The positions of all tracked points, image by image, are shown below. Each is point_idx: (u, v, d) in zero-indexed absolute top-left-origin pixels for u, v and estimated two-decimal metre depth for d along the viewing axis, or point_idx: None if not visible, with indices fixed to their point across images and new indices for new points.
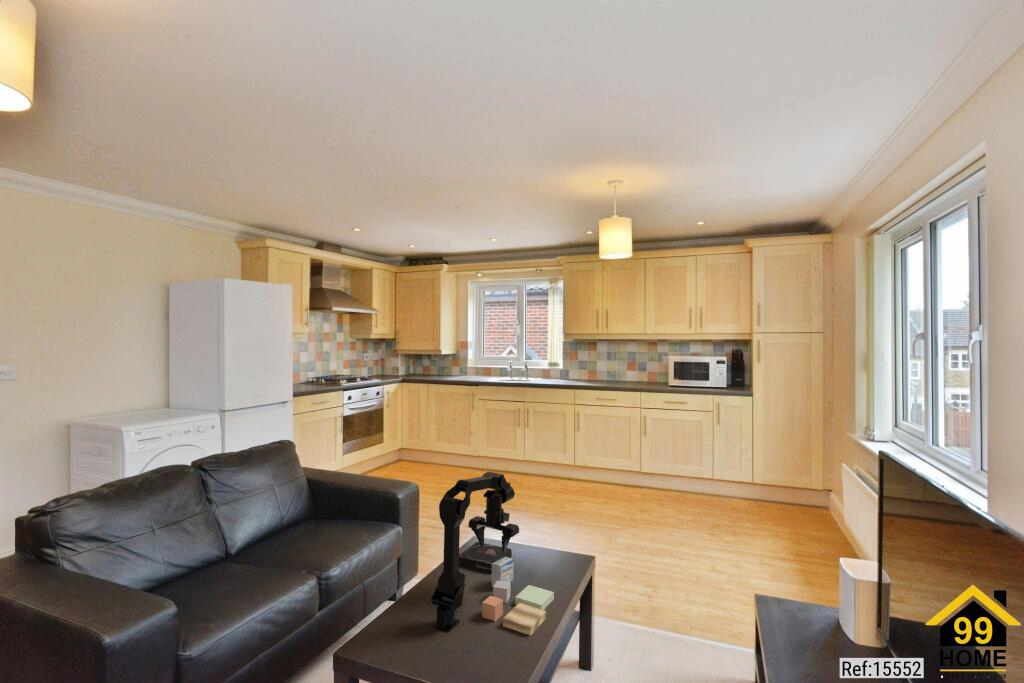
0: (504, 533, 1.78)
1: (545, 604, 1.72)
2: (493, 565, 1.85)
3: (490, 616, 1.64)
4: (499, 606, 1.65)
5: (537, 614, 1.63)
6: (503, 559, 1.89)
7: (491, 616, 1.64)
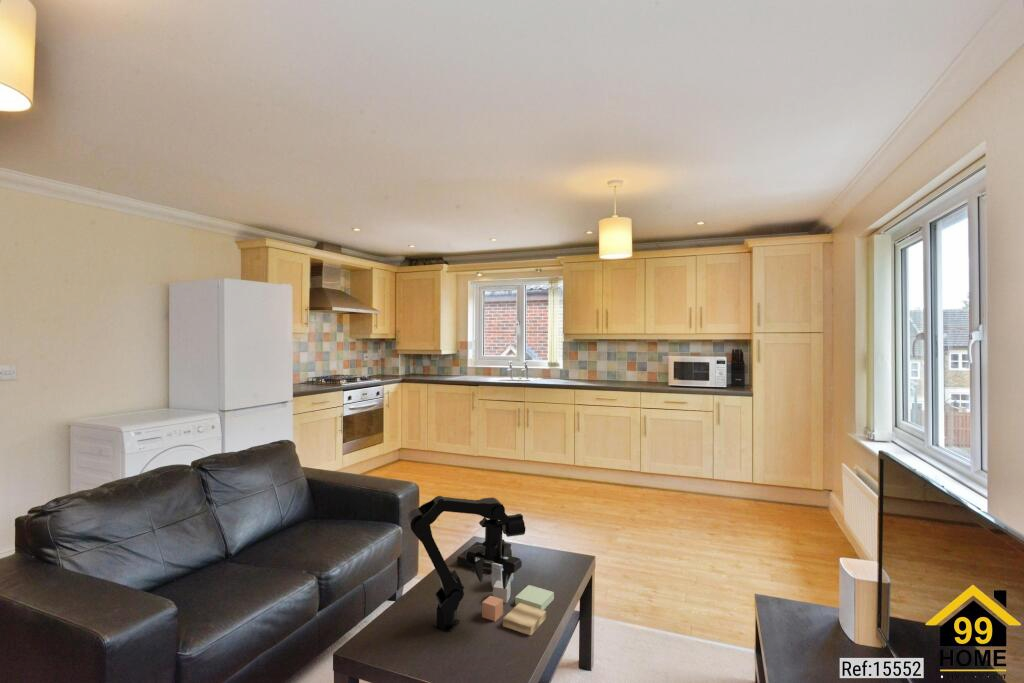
0: (505, 568, 1.60)
1: (545, 604, 1.72)
2: (493, 565, 1.85)
3: (490, 616, 1.64)
4: (499, 606, 1.65)
5: (537, 614, 1.63)
6: None
7: (491, 616, 1.64)
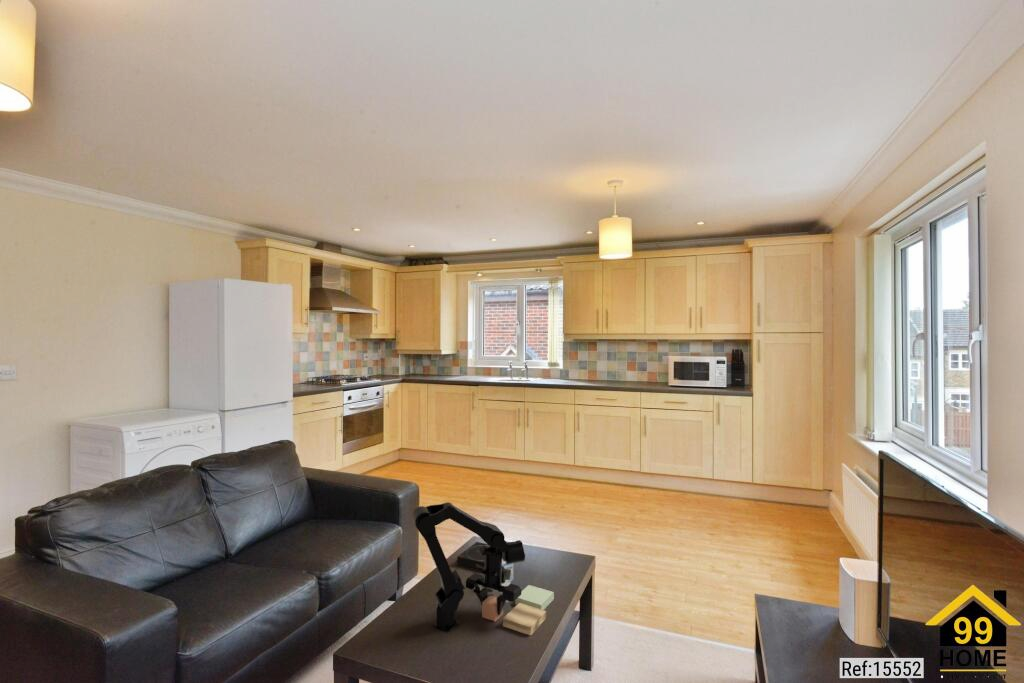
0: (505, 596, 1.60)
1: (545, 604, 1.72)
2: None
3: (490, 616, 1.64)
4: None
5: (537, 614, 1.63)
6: None
7: (491, 616, 1.64)
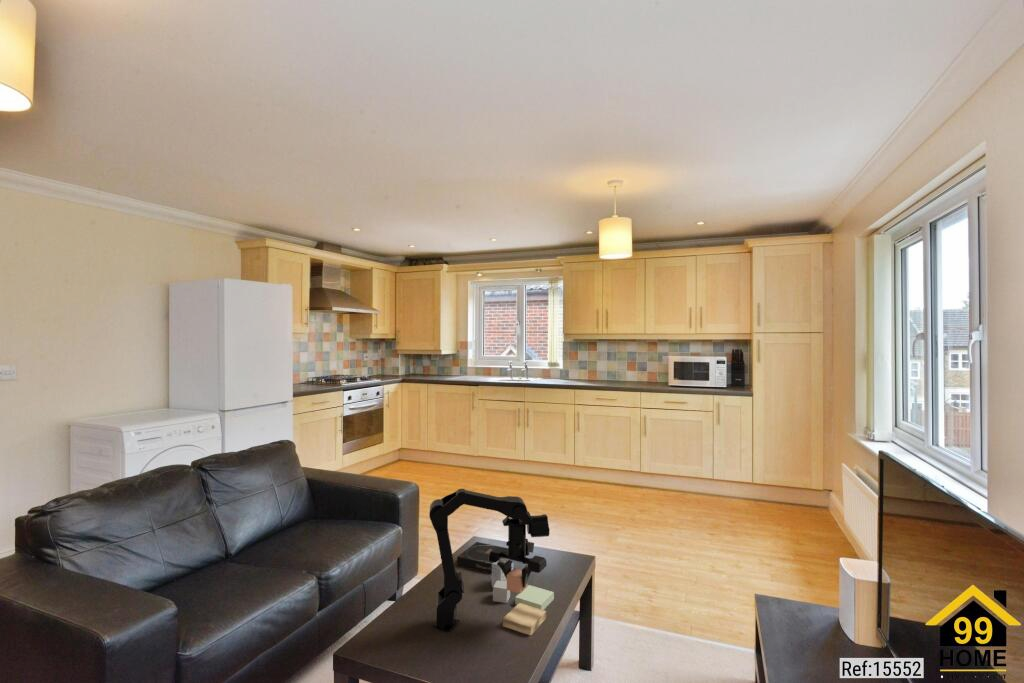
0: (530, 568, 1.58)
1: (545, 604, 1.72)
2: (493, 565, 1.85)
3: (515, 588, 1.61)
4: None
5: (537, 614, 1.63)
6: None
7: (516, 588, 1.61)
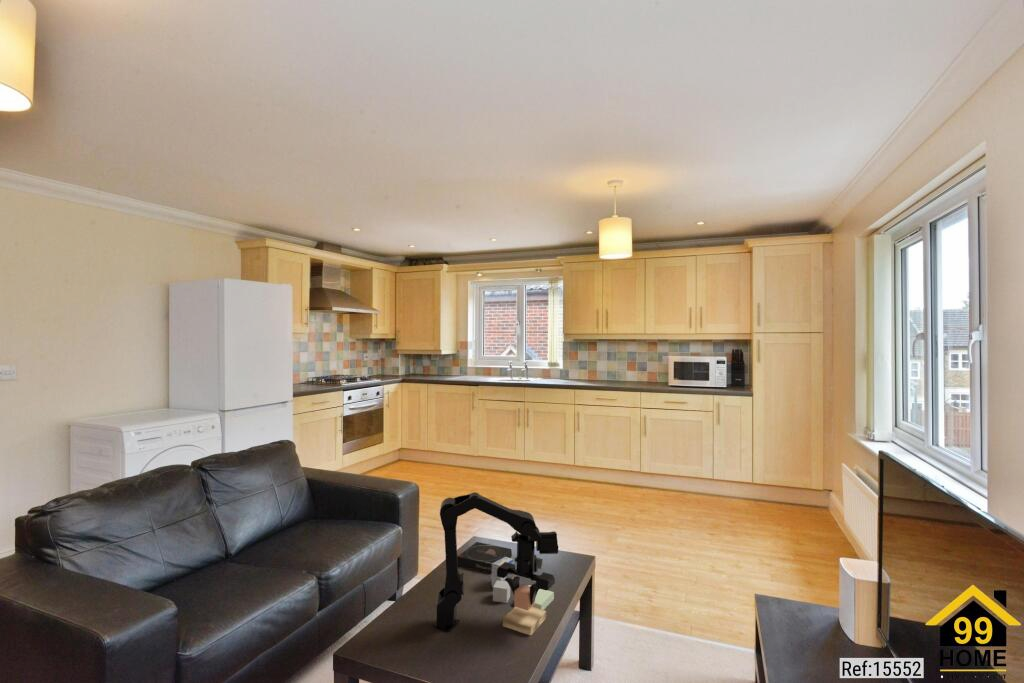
0: (538, 585, 1.57)
1: (545, 604, 1.72)
2: (493, 565, 1.85)
3: (523, 605, 1.60)
4: None
5: (537, 614, 1.63)
6: (503, 559, 1.89)
7: (524, 605, 1.60)
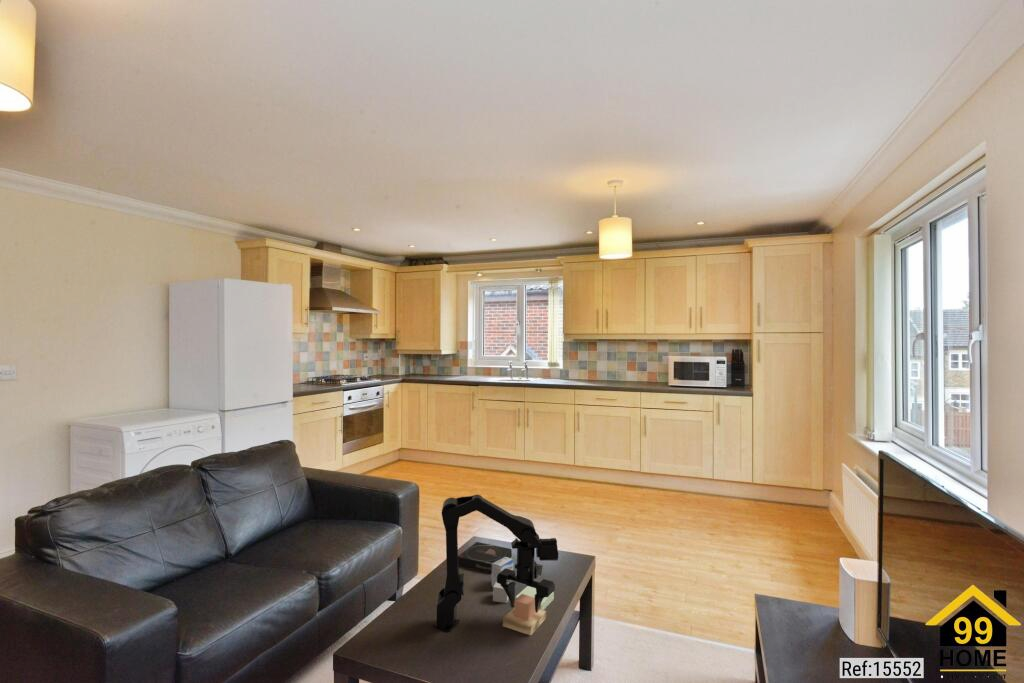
0: (538, 592, 1.57)
1: (545, 604, 1.72)
2: (493, 565, 1.85)
3: (523, 615, 1.60)
4: (531, 604, 1.61)
5: (537, 614, 1.63)
6: (503, 559, 1.89)
7: (524, 615, 1.60)
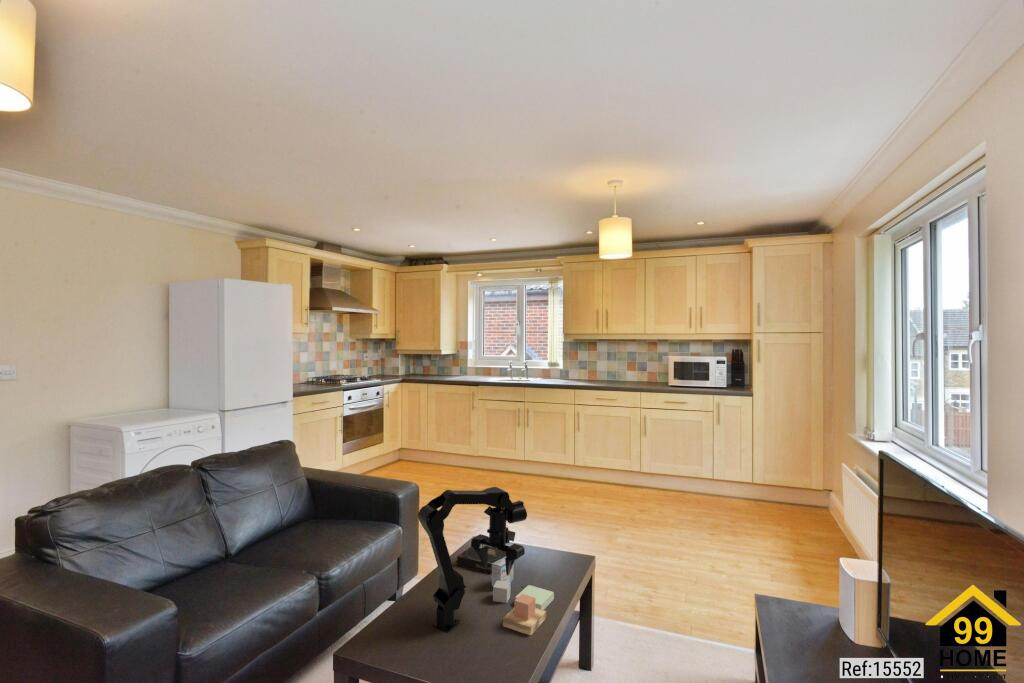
0: (508, 555, 1.65)
1: (545, 604, 1.72)
2: (493, 565, 1.85)
3: (523, 615, 1.60)
4: (531, 604, 1.61)
5: (537, 614, 1.63)
6: (503, 559, 1.89)
7: (524, 615, 1.60)
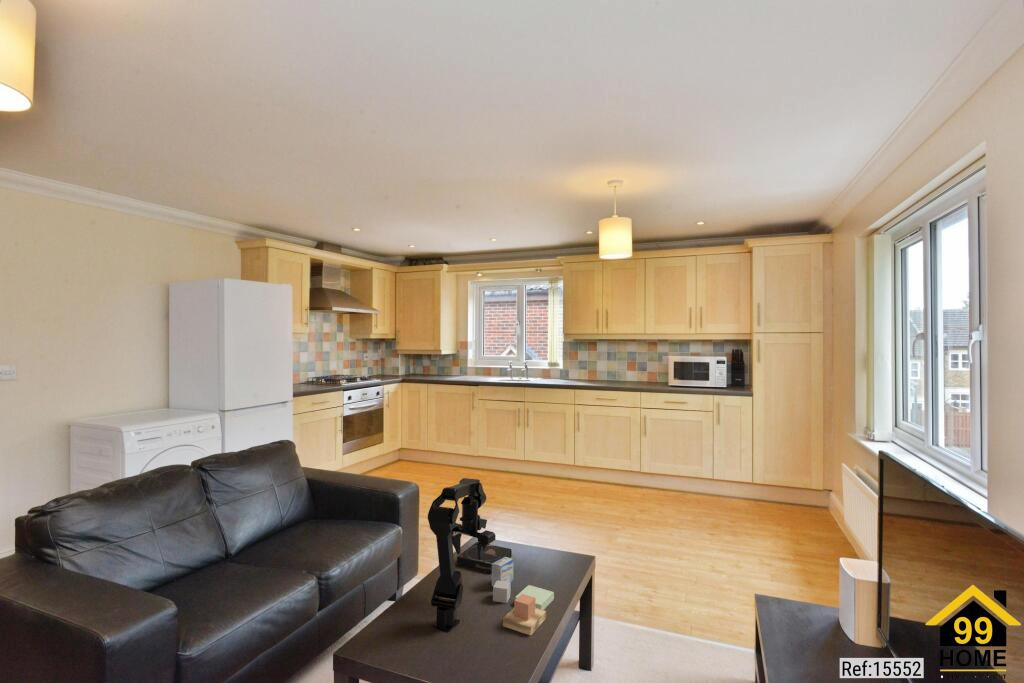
0: (479, 540, 1.75)
1: (545, 604, 1.72)
2: (493, 565, 1.85)
3: (523, 615, 1.60)
4: (531, 604, 1.61)
5: (537, 614, 1.63)
6: (503, 559, 1.89)
7: (524, 615, 1.60)
